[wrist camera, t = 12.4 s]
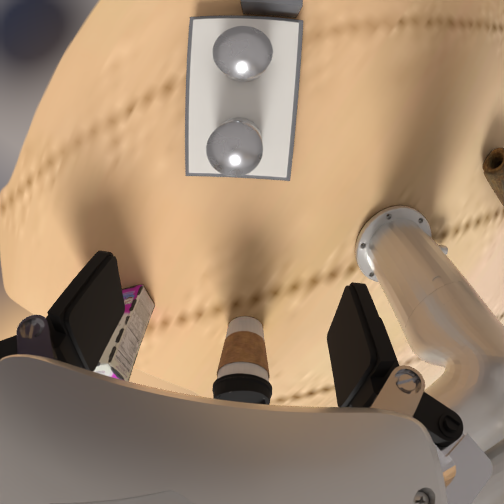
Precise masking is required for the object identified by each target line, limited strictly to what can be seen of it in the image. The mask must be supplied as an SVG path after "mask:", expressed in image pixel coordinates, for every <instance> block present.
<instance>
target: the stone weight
mask: <svg viewBox="0 0 504 504" xmlns="http://www.w3.org/2000/svg"><path fill="white" fill-rule="evenodd" d="M483 170H484V174H485V176H486V178H487V180H488V182H489V184H490V185H491V187H492V189H493V190H494V192H495V193H496V195H497V197H498V198H499V200H500V201H501V203H502V205H503V206H504V148H496V149H494V150H493V151H492V152H491V153H490V154H489V156H488V157H487V159H486V160H485V162H484V164H483Z"/></svg>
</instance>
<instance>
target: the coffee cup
mask: <svg viewBox="0 0 504 504" xmlns="http://www.w3.org/2000/svg"><path fill="white" fill-rule="evenodd" d="M212 391H213V394H214V399H219V400H227V401H235V402H244V403H254V404H265V405H269V403H270V398H271V396H272V386H271V384H270V383H269V369H268V362H267V355H266V348H265V342H264V333H263V326H262V324H261V323H260V322H259V321H258V320H257V319H255V318H253V317H248V316H242V317H237V318H235V319H233V320H232V321H231V322H230V323H229V326H228V330H227V335H226V339H225V342H224V346H223V350H222V354H221V358H220V363H219V367H218V371H217V380H216V381H215V382H214V384H213V390H212Z"/></svg>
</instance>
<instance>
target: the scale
mask: <svg viewBox="0 0 504 504" xmlns="http://www.w3.org/2000/svg"><path fill="white" fill-rule="evenodd" d="M302 4H303V0H241V6H242V11H243V14H257V15H273V16H284V17H293V18H296V17H297V15H298V13H299V12H300V10H301V8H302ZM237 26H249V27H253V28H256V29H258V30H260V31H262V32H263V33H264V34H265V35H266V36H267V37H268V38H269V40H270V42H271V44H272V48H273V56H272V60H271V62H270V64H269V65H268V67H267V69H266V70H265V72H264V73H263V74H262V75H261V76H260V77H259V78H257V79H255V80H253V81H249V82H238V81H235V80H232V79H230V78H229V77H227V76H226V75H225V74H224V73H223V72H222V71H221V70H220V69H219V68H218V67H217V65H216V64H215V62H214V59H213V46H214V43H215V41H216V40H217V38H218V37H219V36H220V35H221V34H222V33H223V32H224V31H226V30H228V29H230V28H233V27H237ZM302 35H303V20H295V19H286V18H275V17H261V16H200V17H190V24H189V38H188V54H187V74H186V108H185V166H186V176H214V177H231V176H226V175H223V174H221V173H219V172H218V171H217V170H215V169H214V168H213V167H212V165H211V164H210V162H209V160H208V158H207V154H206V145H207V141H208V139H209V137H210V135H211V134H212V132H213V131H214V130H215V129H217V128H218V127H219V126H220V125H221V124H223V123H224V122H225V121H227V120H229V119H231V118H236V117H241V118H246V119H249V120H251V121H252V122H254V123H255V124H256V125H257V126H258V128H259V129H260V132H261V135H262V143H263V154H262V158H261V161H260V163H259V164H258V166H257V167H256V168H255V169H254V170H253V171H251V172H250V173H248V174H246V175H243V176H238V178H256V179H271V180H285V181H290V176H291V166H292V157H293V147H294V136H295V126H296V114H297V103H298V91H299V78H300V65H301V50H302Z"/></svg>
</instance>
